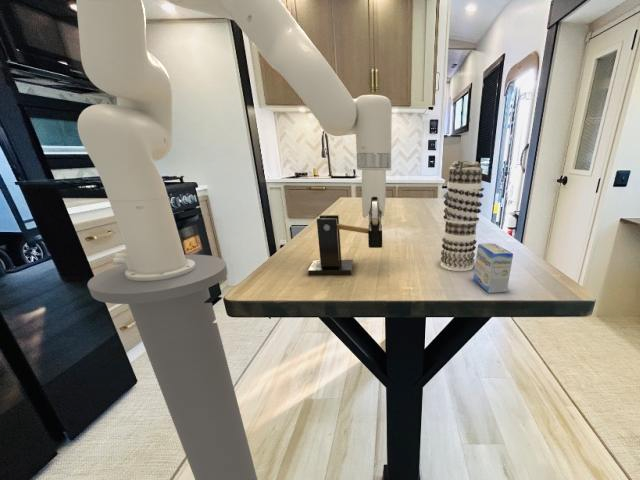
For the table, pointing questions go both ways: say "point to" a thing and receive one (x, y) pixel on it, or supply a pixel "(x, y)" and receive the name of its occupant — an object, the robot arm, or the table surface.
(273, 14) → the robot arm
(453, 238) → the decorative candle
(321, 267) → the lever bracket
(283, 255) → the table surface
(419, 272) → the table surface
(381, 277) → the table surface
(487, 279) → the medicine box
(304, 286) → the table surface
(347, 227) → the flush lever
